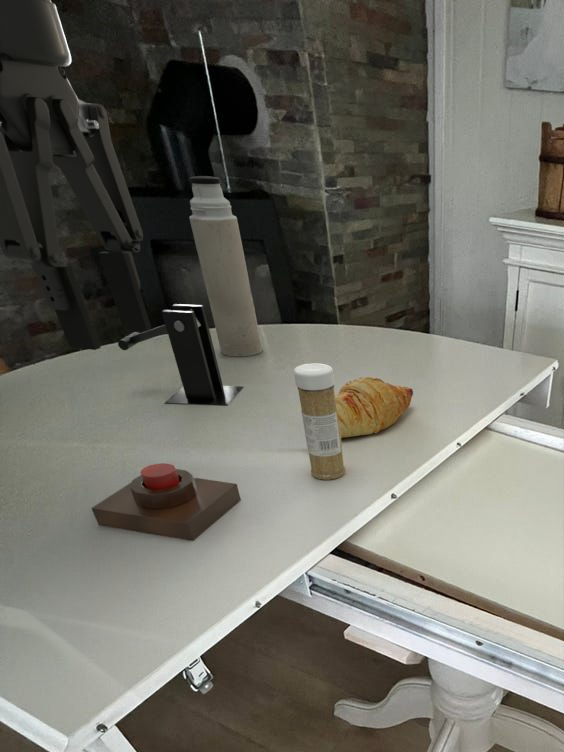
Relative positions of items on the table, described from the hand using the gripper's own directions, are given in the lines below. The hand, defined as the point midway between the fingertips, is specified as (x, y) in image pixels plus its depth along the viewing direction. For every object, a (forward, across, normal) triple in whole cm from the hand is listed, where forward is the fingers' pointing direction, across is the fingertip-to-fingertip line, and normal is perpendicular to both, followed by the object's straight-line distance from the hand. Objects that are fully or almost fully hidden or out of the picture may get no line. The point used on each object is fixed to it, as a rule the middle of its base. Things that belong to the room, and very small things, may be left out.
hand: (112, 337), depth 57 cm
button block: (+19, 0, 0) cm, 19 cm away
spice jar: (+19, +15, -13) cm, 28 cm away
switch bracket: (+19, +34, +17) cm, 42 cm away
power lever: (+10, +33, +21) cm, 40 cm away
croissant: (+19, +33, -11) cm, 40 cm away
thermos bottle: (+19, +62, +27) cm, 70 cm away
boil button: (+15, 0, 0) cm, 15 cm away
